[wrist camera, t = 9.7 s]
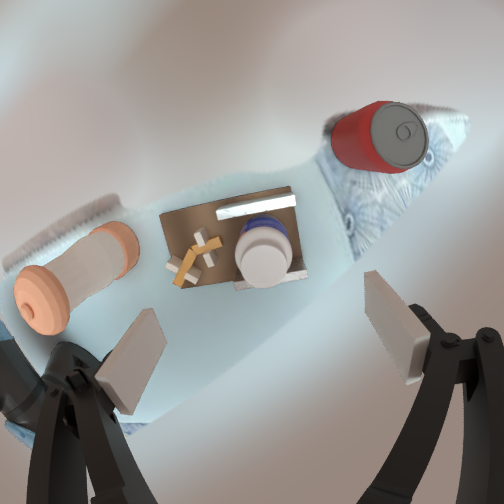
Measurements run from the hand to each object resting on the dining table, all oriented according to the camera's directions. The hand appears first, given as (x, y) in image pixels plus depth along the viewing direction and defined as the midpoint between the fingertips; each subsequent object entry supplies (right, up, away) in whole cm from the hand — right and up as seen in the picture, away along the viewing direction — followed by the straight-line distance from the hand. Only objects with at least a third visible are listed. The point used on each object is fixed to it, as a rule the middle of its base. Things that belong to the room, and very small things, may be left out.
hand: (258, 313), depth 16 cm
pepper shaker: (-19, +4, +19) cm, 27 cm away
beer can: (+12, +17, +13) cm, 24 cm away
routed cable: (-7, +3, +17) cm, 19 cm away
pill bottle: (+1, +6, +16) cm, 17 cm away
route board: (-3, +5, +17) cm, 18 cm away
